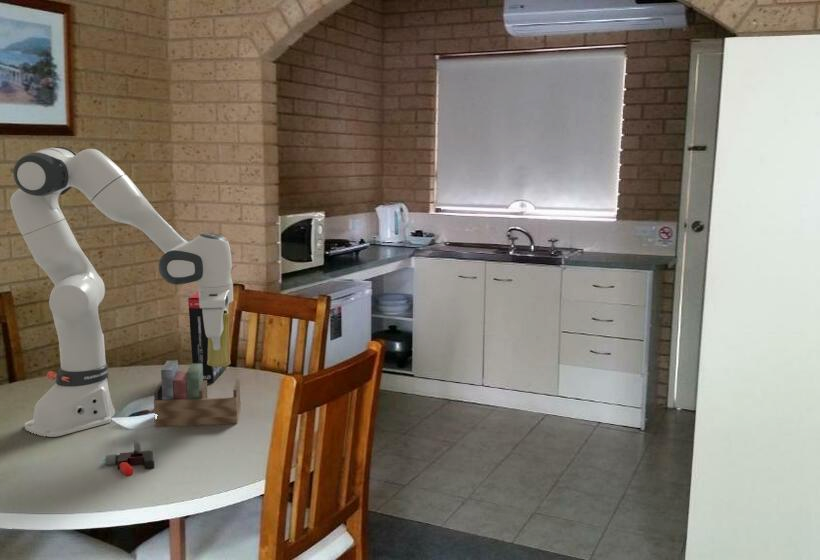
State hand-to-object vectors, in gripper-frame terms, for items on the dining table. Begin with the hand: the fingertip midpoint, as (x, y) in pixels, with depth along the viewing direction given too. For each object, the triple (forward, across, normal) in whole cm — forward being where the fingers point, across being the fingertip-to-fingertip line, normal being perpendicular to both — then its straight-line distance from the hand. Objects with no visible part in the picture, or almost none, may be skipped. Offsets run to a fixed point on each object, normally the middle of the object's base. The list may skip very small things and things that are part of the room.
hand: (218, 346), depth 202 cm
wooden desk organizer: (+20, 0, -6) cm, 21 cm away
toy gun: (+20, +31, -18) cm, 41 cm away
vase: (+5, 0, 0) cm, 5 cm away
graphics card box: (+20, -38, -8) cm, 44 cm away
